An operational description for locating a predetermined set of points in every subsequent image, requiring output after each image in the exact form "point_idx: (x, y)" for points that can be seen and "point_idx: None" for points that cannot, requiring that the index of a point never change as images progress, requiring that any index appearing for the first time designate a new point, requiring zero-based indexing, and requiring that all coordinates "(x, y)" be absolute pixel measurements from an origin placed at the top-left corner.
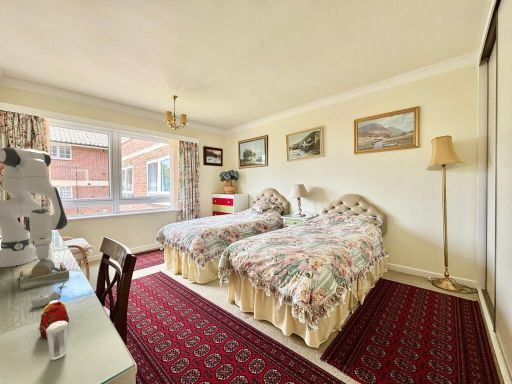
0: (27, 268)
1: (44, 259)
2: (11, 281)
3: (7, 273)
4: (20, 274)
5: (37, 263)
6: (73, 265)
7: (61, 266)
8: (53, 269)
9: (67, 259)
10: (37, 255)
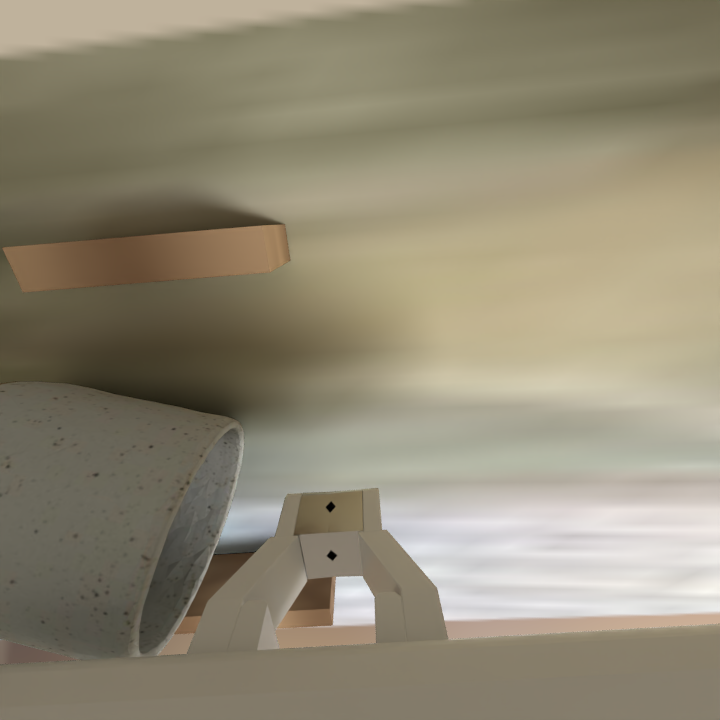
0: (677, 282)
1: (120, 649)
2: (101, 139)
3: (665, 20)
4: (10, 255)
5: (2, 541)
6: (349, 618)
7: (191, 607)
8: (189, 539)
9: (645, 594)
10: (207, 696)
